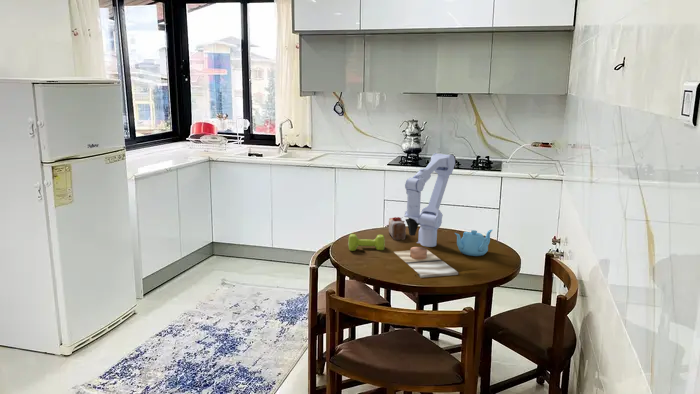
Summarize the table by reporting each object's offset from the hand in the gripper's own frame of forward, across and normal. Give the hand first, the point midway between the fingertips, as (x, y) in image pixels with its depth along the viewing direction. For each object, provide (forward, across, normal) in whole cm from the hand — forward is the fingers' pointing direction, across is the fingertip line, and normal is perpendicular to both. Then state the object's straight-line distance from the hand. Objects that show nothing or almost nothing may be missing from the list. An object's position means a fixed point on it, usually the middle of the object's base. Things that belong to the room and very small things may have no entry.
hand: (412, 235), depth 229 cm
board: (+8, +14, 0) cm, 16 cm away
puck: (+7, +8, 0) cm, 11 cm away
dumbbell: (+9, -9, -18) cm, 22 cm away
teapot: (+9, +6, +28) cm, 30 cm away
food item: (+9, -28, +4) cm, 30 cm away
